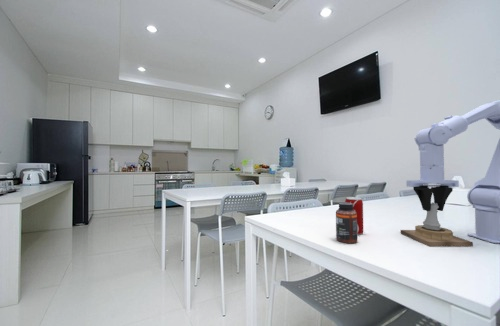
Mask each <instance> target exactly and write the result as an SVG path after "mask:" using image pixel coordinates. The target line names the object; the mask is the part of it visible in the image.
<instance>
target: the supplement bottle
mask: <svg viewBox="0 0 500 326" xmlns="http://www.w3.org/2000/svg"><path fill="white" fill-rule="evenodd" d="M335 233H336V234H335V236H336V240H337V241H338V242H341V243H343V244H344V243H345V244H354V243H357V242H358V235H357V213H356V211H354V210H353V204H352V203H347V202H345V201H344V202H339V203H338V209H336V211H335Z"/></svg>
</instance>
